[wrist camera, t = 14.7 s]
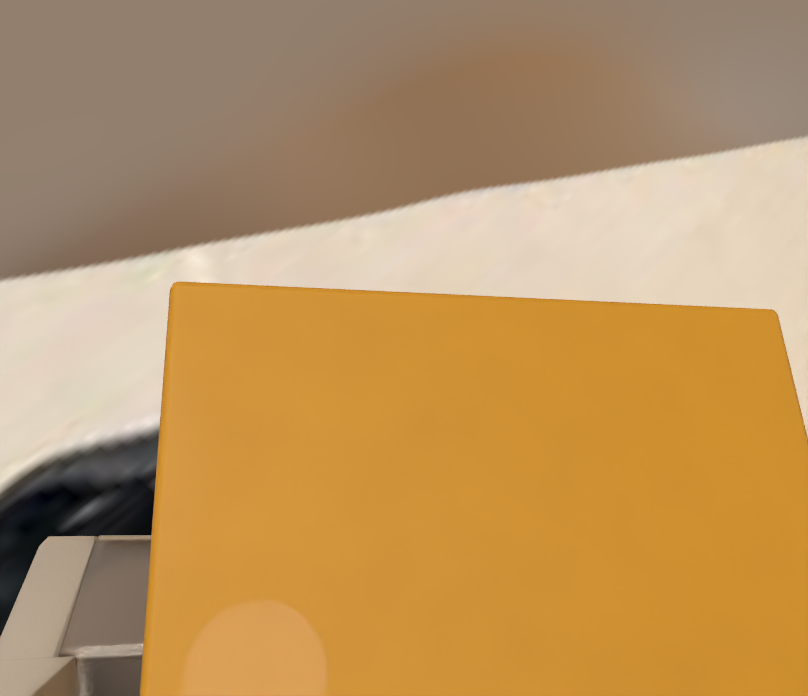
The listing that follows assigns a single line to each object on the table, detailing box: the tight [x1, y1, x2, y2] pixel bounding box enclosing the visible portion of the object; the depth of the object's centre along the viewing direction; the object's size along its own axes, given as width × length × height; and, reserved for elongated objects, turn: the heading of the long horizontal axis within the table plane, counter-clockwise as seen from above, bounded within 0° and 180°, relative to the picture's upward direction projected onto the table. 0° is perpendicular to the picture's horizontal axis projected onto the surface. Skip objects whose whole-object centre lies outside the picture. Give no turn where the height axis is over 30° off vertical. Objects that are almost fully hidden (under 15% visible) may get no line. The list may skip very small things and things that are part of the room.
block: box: [140, 282, 808, 696], centre depth 9 cm, size 5×5×9 cm
